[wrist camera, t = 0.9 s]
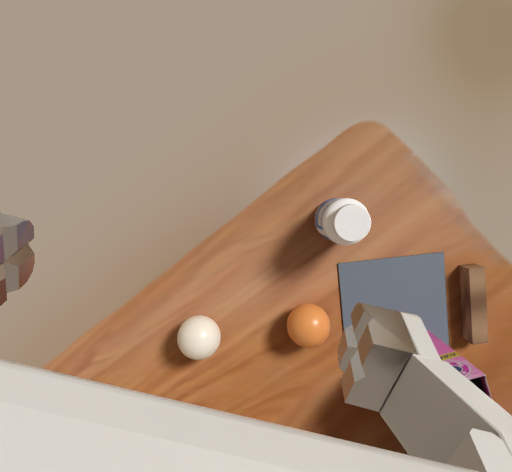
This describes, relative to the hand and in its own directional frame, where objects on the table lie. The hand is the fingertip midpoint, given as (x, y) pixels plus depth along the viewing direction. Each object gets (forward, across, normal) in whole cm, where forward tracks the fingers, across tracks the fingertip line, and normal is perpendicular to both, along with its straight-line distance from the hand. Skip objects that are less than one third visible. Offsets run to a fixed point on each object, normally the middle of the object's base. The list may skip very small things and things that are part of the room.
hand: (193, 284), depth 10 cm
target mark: (+36, +23, -22) cm, 48 cm away
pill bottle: (+40, +12, -13) cm, 44 cm away
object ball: (+32, +12, -25) cm, 42 cm away
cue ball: (+30, -1, -29) cm, 42 cm away
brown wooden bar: (+38, +32, -18) cm, 53 cm away
